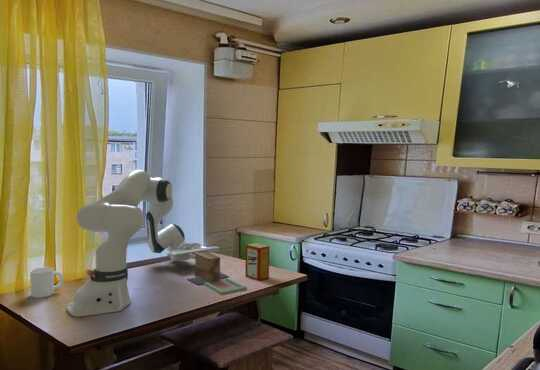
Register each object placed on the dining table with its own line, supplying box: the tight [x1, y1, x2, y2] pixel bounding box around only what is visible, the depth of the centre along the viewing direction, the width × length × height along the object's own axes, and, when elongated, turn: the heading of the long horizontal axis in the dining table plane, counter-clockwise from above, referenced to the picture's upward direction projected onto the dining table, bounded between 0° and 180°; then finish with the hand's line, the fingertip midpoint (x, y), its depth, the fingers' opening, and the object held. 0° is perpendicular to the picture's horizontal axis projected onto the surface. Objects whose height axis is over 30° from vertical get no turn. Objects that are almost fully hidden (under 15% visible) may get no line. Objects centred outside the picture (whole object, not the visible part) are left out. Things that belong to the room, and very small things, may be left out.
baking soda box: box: [244, 242, 270, 282], centre depth 199 cm, size 10×6×16 cm
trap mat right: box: [220, 272, 229, 280], centre depth 202 cm, size 5×10×1 cm, turn 37°
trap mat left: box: [187, 276, 206, 286], centre depth 191 cm, size 5×10×1 cm, turn 37°
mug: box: [29, 266, 64, 299], centre depth 171 cm, size 12×8×10 cm
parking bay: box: [203, 277, 248, 295], centre depth 185 cm, size 13×16×1 cm
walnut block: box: [194, 252, 221, 284], centre depth 197 cm, size 6×13×11 cm, turn 37°
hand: (196, 257), depth 206 cm, fingers closed
